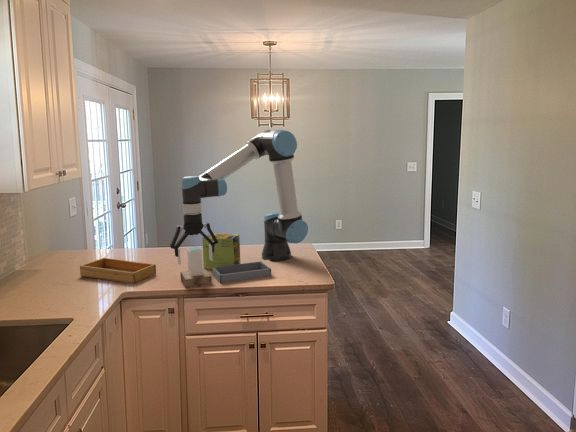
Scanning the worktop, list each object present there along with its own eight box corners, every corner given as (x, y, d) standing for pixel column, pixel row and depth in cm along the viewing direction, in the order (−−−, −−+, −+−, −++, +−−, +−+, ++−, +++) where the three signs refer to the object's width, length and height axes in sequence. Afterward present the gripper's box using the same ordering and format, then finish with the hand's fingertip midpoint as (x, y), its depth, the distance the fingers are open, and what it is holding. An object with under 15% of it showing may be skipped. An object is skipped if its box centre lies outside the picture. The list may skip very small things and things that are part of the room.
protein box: (234, 271, 226) (233, 238, 223) (203, 269, 229) (201, 237, 226) (241, 265, 236) (240, 233, 233) (211, 263, 239) (209, 233, 236)
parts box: (200, 271, 212) (198, 246, 210) (203, 275, 207) (201, 249, 205) (188, 272, 210) (187, 247, 208) (191, 276, 205) (189, 250, 203)
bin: (261, 269, 227) (261, 261, 227) (271, 277, 215) (271, 268, 214) (212, 275, 219) (212, 267, 218) (220, 284, 206) (219, 275, 206)
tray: (156, 275, 223) (155, 263, 222) (134, 285, 209) (133, 272, 208) (104, 268, 235) (103, 257, 234) (80, 277, 221) (79, 265, 220)
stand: (205, 277, 217) (205, 268, 216) (211, 285, 206) (211, 276, 205) (180, 280, 213) (180, 271, 212) (185, 288, 202) (185, 279, 201)
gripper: (219, 209, 212) (221, 256, 216) (161, 214, 203) (164, 263, 207) (223, 211, 205) (225, 260, 209) (163, 217, 196) (167, 267, 200)
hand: (195, 261), depth 208 cm, fingers open, 13 cm apart
